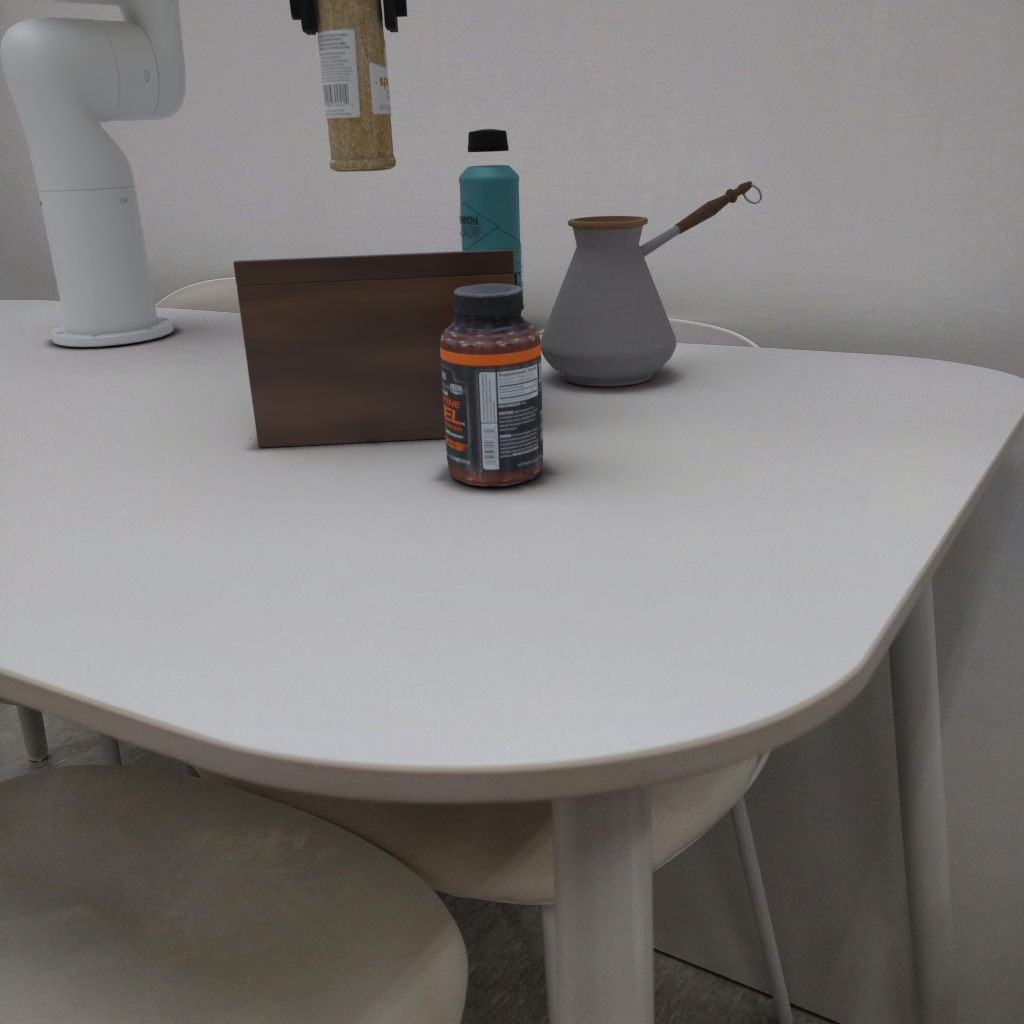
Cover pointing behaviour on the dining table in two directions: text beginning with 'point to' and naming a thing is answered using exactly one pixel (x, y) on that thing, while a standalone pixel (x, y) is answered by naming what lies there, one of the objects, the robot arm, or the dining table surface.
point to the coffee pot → (615, 301)
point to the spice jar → (355, 84)
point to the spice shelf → (353, 342)
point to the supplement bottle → (492, 388)
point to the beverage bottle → (490, 201)
